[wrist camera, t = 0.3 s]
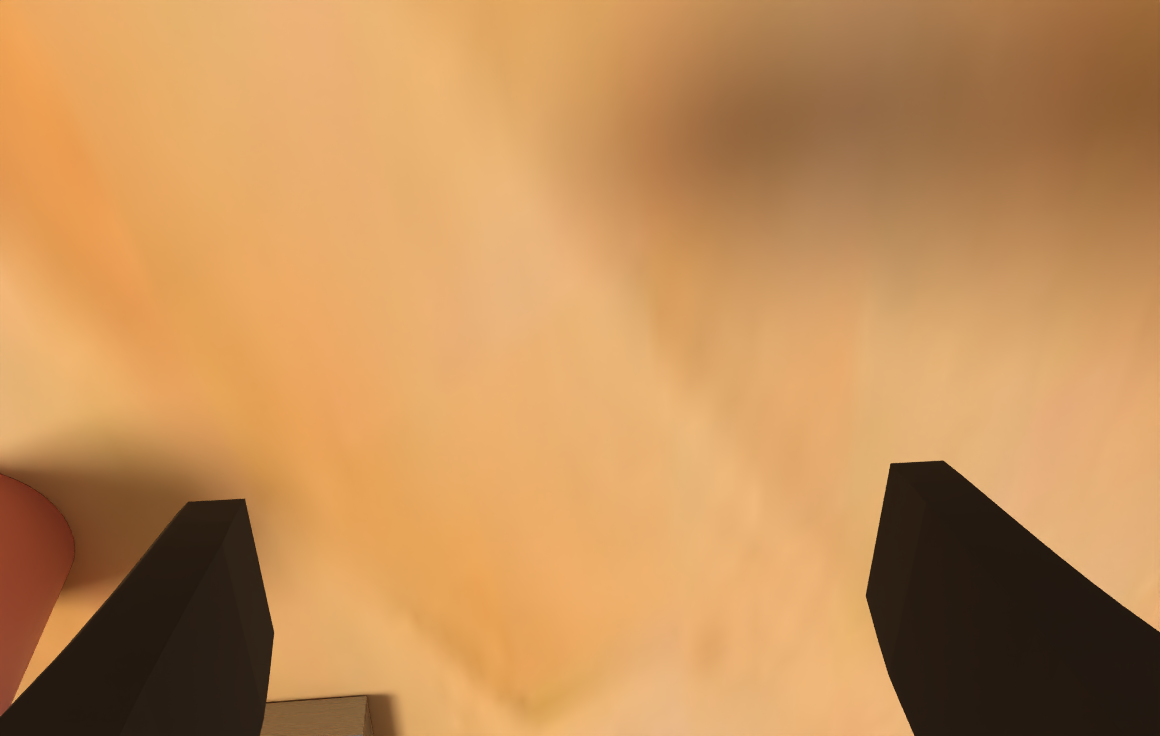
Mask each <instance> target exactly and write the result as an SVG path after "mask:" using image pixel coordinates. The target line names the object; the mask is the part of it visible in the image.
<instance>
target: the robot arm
mask: <svg viewBox="0 0 1160 736" xmlns="http://www.w3.org/2000/svg"><path fill="white" fill-rule="evenodd" d="M866 598H867V602H868V606H869V609H870V613H871V616H872V620H873V624H874V627H875V631H876V635H877V638H878V642H879V645H880V648H881V652H882V655H883V658H884V661H885V665H886V668H887V671H888V675H889V677H890V680H891V682H892V684H893V687H894V689H895V692H896V694H897V696H898V699H899V701H900V703H901V706H902V708H903V710H904V713H905V715H906V717H907V720H908V722H909V724H910V727H911V729H912V731H913V733H914V736H1160V632H1159V631H1157V630H1156V629H1154V628H1153V627H1152V626H1150V625H1149V624H1148V623H1146V622H1145V621H1143V620H1142V619H1141V618H1139V617H1138V616H1136V615H1135V614H1134V613H1132V612H1131V611H1129V610H1128V609H1127V608H1125V607H1124V606H1122V605H1121V604H1120V603H1119V602H1117V601H1116V600H1115V599H1113V598H1112V597H1111V596H1109V595H1108V594H1107V593H1105V592H1104V591H1103V590H1101V589H1100V588H1099V587H1097V586H1096V585H1095V584H1094V583H1092V582H1091V581H1090V580H1088V579H1087V578H1086V577H1085V576H1083V575H1082V574H1081V573H1079V572H1078V571H1077V570H1076V569H1074V568H1073V567H1072V566H1071V565H1069V564H1068V563H1067V562H1066V561H1064V560H1063V559H1062V558H1061V557H1059V556H1058V555H1057V554H1056V553H1054V552H1053V551H1052V550H1051V549H1050V548H1048V547H1047V546H1046V545H1045V544H1043V543H1042V542H1041V541H1040V540H1039V539H1037V538H1036V537H1035V536H1034V535H1033V534H1031V533H1030V532H1029V531H1028V530H1027V529H1025V528H1024V527H1023V526H1022V525H1021V524H1019V523H1018V522H1017V521H1016V520H1015V519H1013V518H1012V517H1011V516H1010V515H1009V514H1007V513H1006V512H1005V511H1004V510H1003V509H1001V508H1000V507H999V506H998V505H997V504H995V503H994V502H993V501H992V500H991V499H990V498H988V497H987V496H986V495H985V494H984V493H982V492H981V491H980V490H979V489H978V488H976V487H975V486H974V485H973V484H972V483H970V482H969V481H968V480H967V479H966V478H964V477H963V476H962V475H961V474H960V473H958V472H957V471H956V470H955V469H953V468H952V467H951V466H949V465H948V464H947V463H946V462H944V461H927V462H909V463H891V464H890V469H889V475H888V480H887V485H886V491H885V496H884V501H883V507H882V512H881V517H880V523H879V528H878V533H877V538H876V544H875V549H874V554H873V560H872V565H871V570H870V576H869V581H868V586H867V592H866ZM273 638H274V630H273V625H272V621H271V616H270V612H269V607H268V603H267V598H266V593H265V589H264V584H263V580H262V575H261V570H260V566H259V561H258V557H257V552H256V548H255V543H254V538H253V534H252V529H251V525H250V520H249V515H248V511H247V506H246V502H245V499H232V500H214V501H196V502H188V503H187V504H186V505H185V506H184V507H183V508H182V509H181V510H180V511H179V512H178V513H177V514H176V516H175V517H174V518H173V519H172V521H171V522H170V523H169V524H168V525H167V527H166V528H165V529H164V530H163V532H162V533H161V534H160V535H159V537H158V538H157V539H156V540H155V542H154V543H153V544H152V545H151V547H150V548H149V549H148V550H147V552H146V553H145V554H144V555H143V557H142V558H141V559H140V560H139V562H138V563H137V564H136V565H135V566H134V568H133V569H132V570H131V571H130V573H129V574H128V575H127V576H126V577H125V579H124V580H123V581H122V582H121V583H120V585H119V586H118V587H117V588H116V590H115V591H114V592H113V593H112V594H111V596H110V597H109V598H108V599H107V600H106V601H105V602H104V604H103V605H102V606H101V607H100V608H99V609H98V611H97V612H96V613H95V614H94V615H93V616H92V618H91V619H90V620H89V621H88V622H87V623H86V624H85V626H84V627H83V628H82V629H81V630H80V631H79V633H78V634H77V635H76V636H75V637H74V638H73V639H72V641H71V642H70V643H69V644H68V645H67V646H66V647H65V649H64V650H63V651H62V652H61V653H60V654H59V655H58V656H57V657H56V658H55V659H54V661H53V662H52V663H51V664H50V665H49V666H48V667H47V668H46V669H45V670H44V671H43V672H42V673H41V674H40V675H39V676H38V677H37V678H36V679H35V681H34V682H33V683H32V684H31V685H30V686H29V687H28V688H27V689H26V690H25V691H24V692H23V693H22V694H21V695H20V696H19V697H18V698H17V699H16V700H15V702H14V703H13V704H12V705H11V706H10V707H9V708H8V709H7V710H6V711H5V712H4V713H3V714H2V715H1V716H0V736H260V733H261V729H262V725H263V721H264V715H265V707H266V699H267V691H268V684H269V675H270V666H271V657H272V647H273Z"/></svg>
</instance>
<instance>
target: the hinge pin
mask: <svg viewBox="0 0 1160 736" xmlns="http://www.w3.org/2000/svg"><path fill="white" fill-rule="evenodd" d="M74 552H75V548H74V540H73V536H72V532H71V530H70V528H69V526H68V524H67V522H66V520H65V519H64V517H63V516H62V514H61V513H60V512H59V511H58V510H57V508H56V507H55V506H54V505H53V504H52V503H51V502H50V501H49V500H47V499H46V498H45V497H44V496H42V495H41V494H40V493H38V492H37V491H35V490H34V489H32V488H30V487H29V486H27V485H25V484H23V483H21V482H19V481H17V480H15V479H13V478H10V477H7V476H5V475H2V474H0V716H1V715H2V714H3V713H4V712H5V711H6V710H7V709H8V708H9V707H10V706H11V703H12V701H13V699H14V696H15V694H16V692H17V690H18V687H19V685H20V683H21V680H22V678H23V676H24V674H25V671H26V669H27V667H28V664H29V662H30V660H31V658H32V655H33V653H34V651H35V648H36V646H37V644H38V642H39V639H40V637H41V635H42V632H43V630H44V628H45V626H46V623H47V621H48V619H49V616H50V614H51V612H52V610H53V607H54V605H55V603H56V600H57V598H58V596H59V594H60V591H61V589H62V587H63V585H64V582H65V580H66V578H67V575H68V573H69V571H70V569H71V566H72V563H73V560H74Z"/></svg>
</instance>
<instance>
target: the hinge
mask: <svg viewBox="0 0 1160 736" xmlns="http://www.w3.org/2000/svg"><path fill="white" fill-rule="evenodd" d="M260 736H374V735H373V730H372V724H371V718H370V713H369V707H368V702H367V696H360V697H346V698H333V699H319V700H306V701H293V702H279V703H266V707H265V715H264V721H263V725H262V729H261V733H260Z"/></svg>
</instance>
